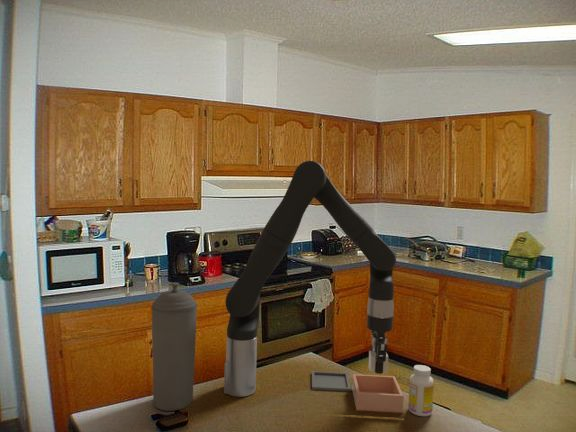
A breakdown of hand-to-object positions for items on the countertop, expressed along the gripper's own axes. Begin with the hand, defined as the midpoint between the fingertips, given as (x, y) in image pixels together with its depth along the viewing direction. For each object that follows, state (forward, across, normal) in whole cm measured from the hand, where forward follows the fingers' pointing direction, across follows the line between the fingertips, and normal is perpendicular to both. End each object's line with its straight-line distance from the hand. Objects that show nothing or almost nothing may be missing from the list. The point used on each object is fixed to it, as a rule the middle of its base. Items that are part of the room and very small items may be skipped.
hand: (377, 369), depth 134 cm
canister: (+10, +7, -59) cm, 60 cm away
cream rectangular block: (0, 0, 0) cm, 0 cm away
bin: (+10, 0, 0) cm, 10 cm away
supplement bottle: (+10, +4, +12) cm, 16 cm away
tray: (+10, -11, -13) cm, 20 cm away
